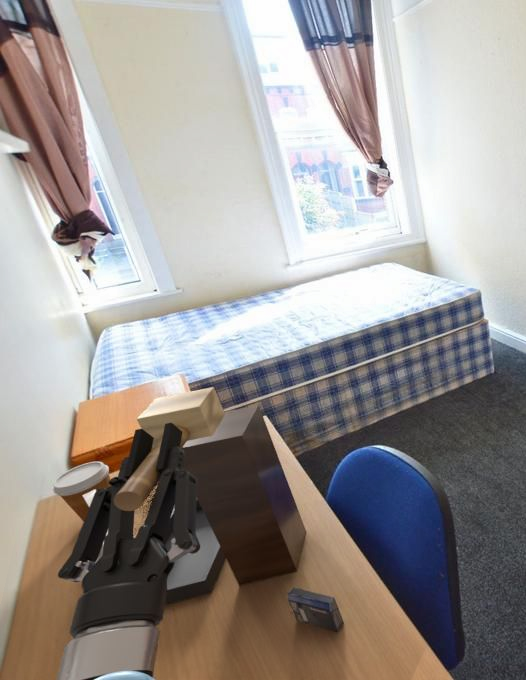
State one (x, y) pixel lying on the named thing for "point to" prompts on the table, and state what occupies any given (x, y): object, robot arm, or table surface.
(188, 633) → the table surface
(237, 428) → the stand
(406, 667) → the table surface
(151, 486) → the mallet
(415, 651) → the table surface
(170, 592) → the tray
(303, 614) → the mini dv tape
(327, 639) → the table surface
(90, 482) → the disposable coffee cup
